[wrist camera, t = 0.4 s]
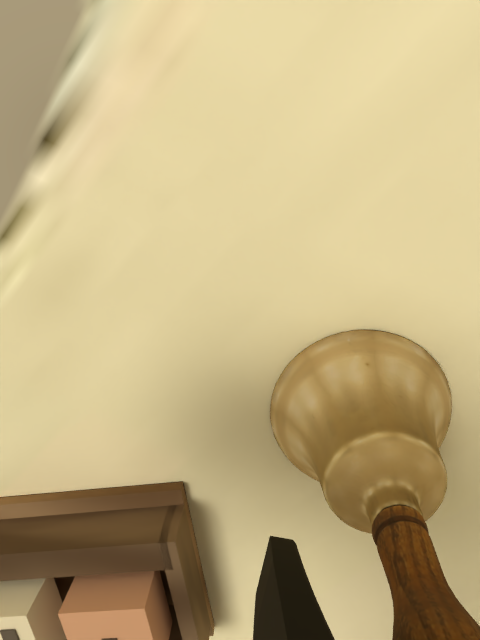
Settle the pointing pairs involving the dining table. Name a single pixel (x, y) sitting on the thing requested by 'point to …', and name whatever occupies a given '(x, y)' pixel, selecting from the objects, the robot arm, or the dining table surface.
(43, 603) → the key two cream
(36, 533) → the wooden tray
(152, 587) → the key one terracotta
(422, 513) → the hand bell
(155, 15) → the dining table surface
